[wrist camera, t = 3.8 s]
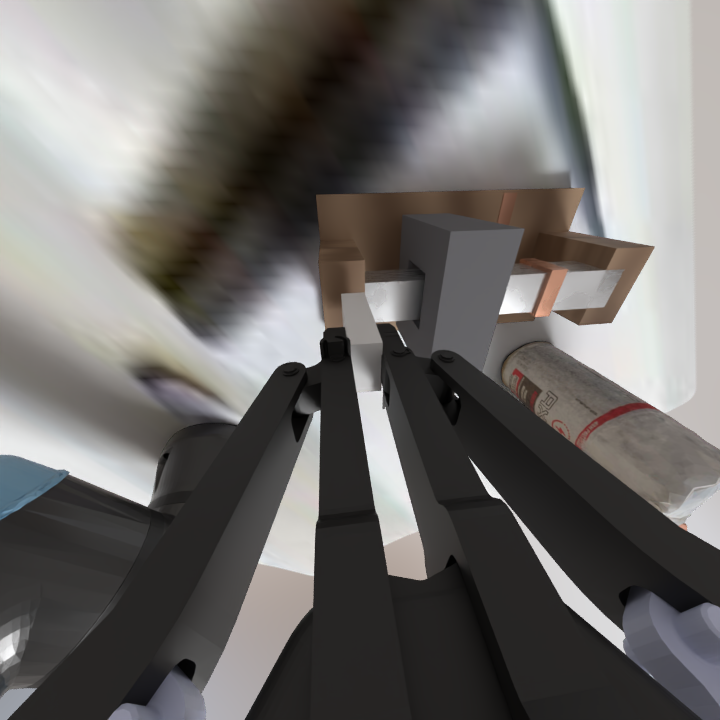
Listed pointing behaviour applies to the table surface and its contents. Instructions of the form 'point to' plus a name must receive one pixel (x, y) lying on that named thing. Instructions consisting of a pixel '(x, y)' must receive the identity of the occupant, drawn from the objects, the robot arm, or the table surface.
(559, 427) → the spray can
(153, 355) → the table surface
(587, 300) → the light grey long bar
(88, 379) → the table surface
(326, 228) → the pipe stand
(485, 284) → the tall grey notched block
